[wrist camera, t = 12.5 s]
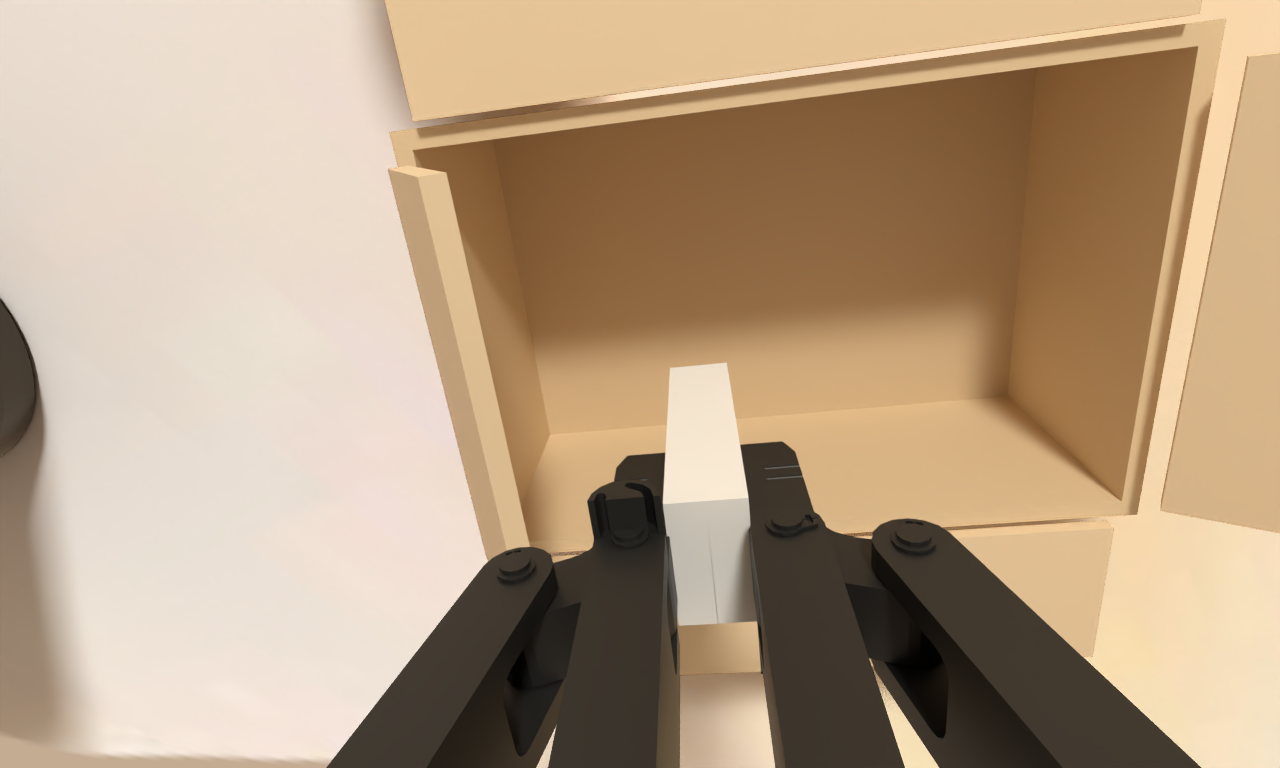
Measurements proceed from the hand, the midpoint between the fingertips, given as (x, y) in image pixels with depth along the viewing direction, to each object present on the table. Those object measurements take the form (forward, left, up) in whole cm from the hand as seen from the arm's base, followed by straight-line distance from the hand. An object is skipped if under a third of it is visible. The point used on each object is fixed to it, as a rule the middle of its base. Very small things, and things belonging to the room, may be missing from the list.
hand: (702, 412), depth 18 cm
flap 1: (-9, 0, -5) cm, 10 cm away
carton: (+3, 0, -15) cm, 16 cm away
